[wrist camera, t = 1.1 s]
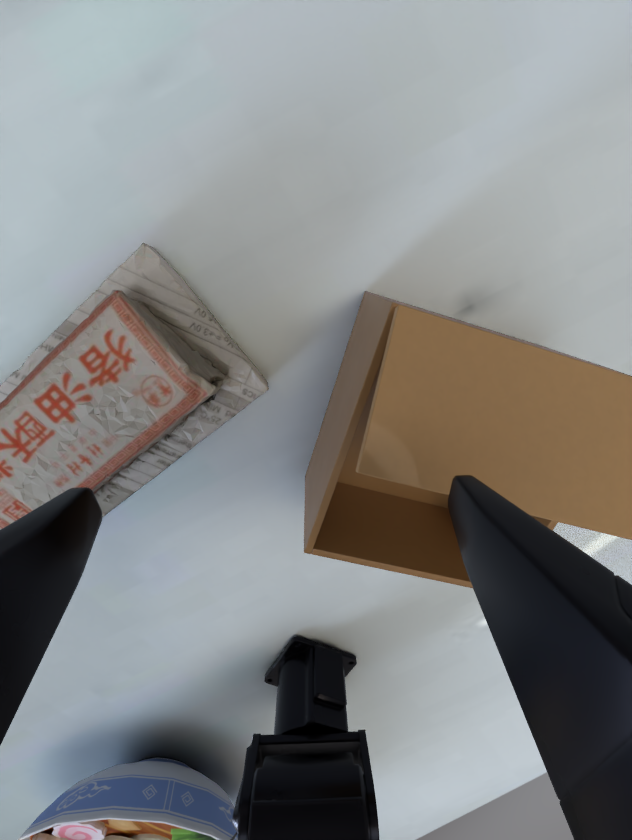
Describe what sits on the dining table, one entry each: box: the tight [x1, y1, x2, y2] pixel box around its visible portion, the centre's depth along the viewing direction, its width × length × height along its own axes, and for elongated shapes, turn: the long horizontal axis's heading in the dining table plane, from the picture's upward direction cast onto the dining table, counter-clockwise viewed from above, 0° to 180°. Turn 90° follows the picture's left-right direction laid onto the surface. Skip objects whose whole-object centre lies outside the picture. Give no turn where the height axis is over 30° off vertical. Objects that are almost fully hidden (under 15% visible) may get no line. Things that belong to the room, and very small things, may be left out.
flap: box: [356, 305, 632, 540], centre depth 14 cm, size 6×12×1 cm, turn 74°
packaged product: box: [0, 243, 269, 530], centre depth 21 cm, size 18×5×10 cm
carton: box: [304, 291, 632, 588], centre depth 20 cm, size 13×12×7 cm
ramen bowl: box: [18, 757, 238, 840], centre depth 36 cm, size 25×23×8 cm
